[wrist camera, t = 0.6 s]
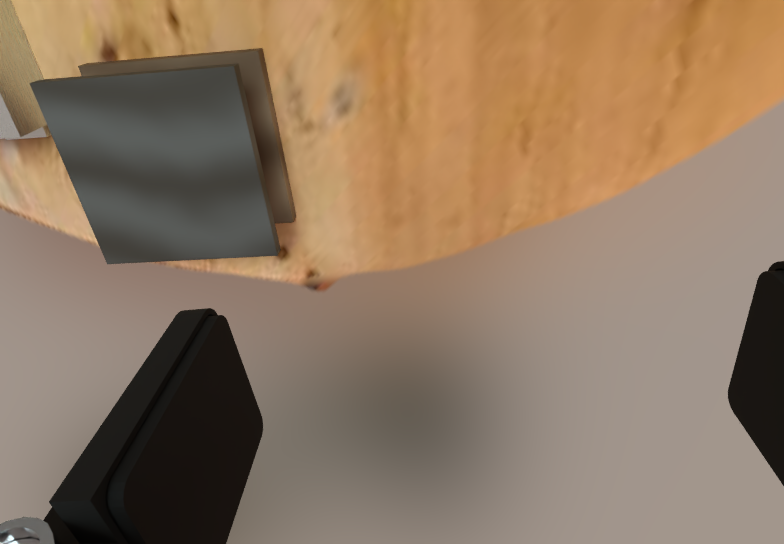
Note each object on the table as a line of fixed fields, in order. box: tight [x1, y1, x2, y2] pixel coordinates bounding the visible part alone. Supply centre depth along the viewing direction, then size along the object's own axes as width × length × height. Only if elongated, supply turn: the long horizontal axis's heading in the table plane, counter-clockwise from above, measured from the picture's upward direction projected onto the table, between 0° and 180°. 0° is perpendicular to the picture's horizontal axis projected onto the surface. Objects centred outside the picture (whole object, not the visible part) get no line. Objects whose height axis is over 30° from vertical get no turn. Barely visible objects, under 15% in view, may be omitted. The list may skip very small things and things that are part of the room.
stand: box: [29, 48, 296, 264], centre depth 41 cm, size 14×14×7 cm
